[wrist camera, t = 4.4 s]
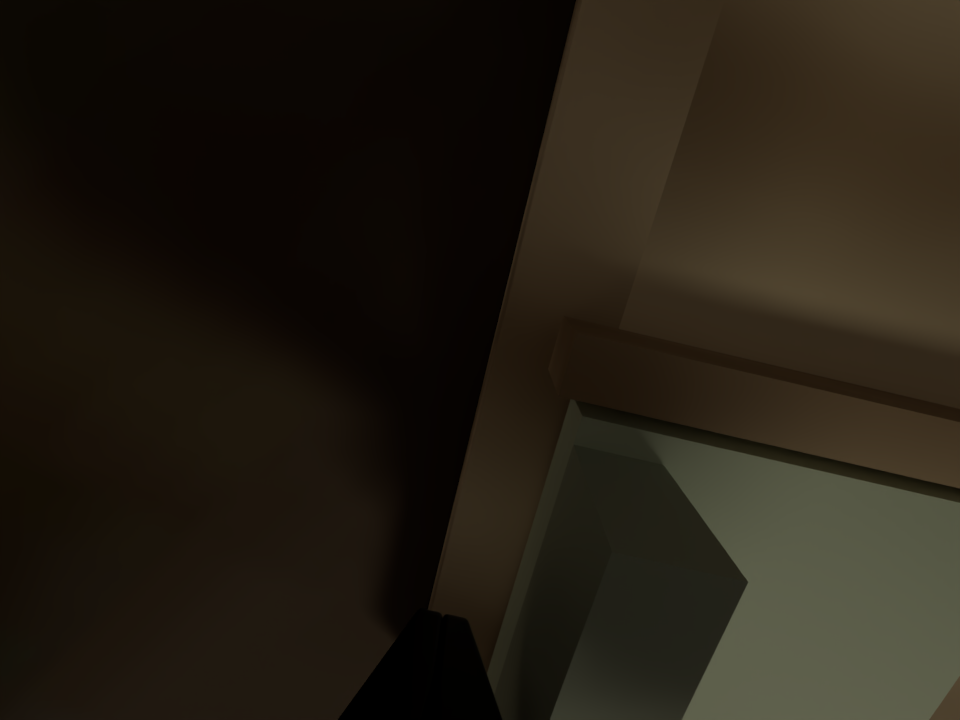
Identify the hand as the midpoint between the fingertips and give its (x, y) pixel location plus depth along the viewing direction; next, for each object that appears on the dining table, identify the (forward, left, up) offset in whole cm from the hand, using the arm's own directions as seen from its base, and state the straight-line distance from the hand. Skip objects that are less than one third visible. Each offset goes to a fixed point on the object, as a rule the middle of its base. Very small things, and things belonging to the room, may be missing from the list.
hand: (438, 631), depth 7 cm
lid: (0, -5, -2) cm, 6 cm away
